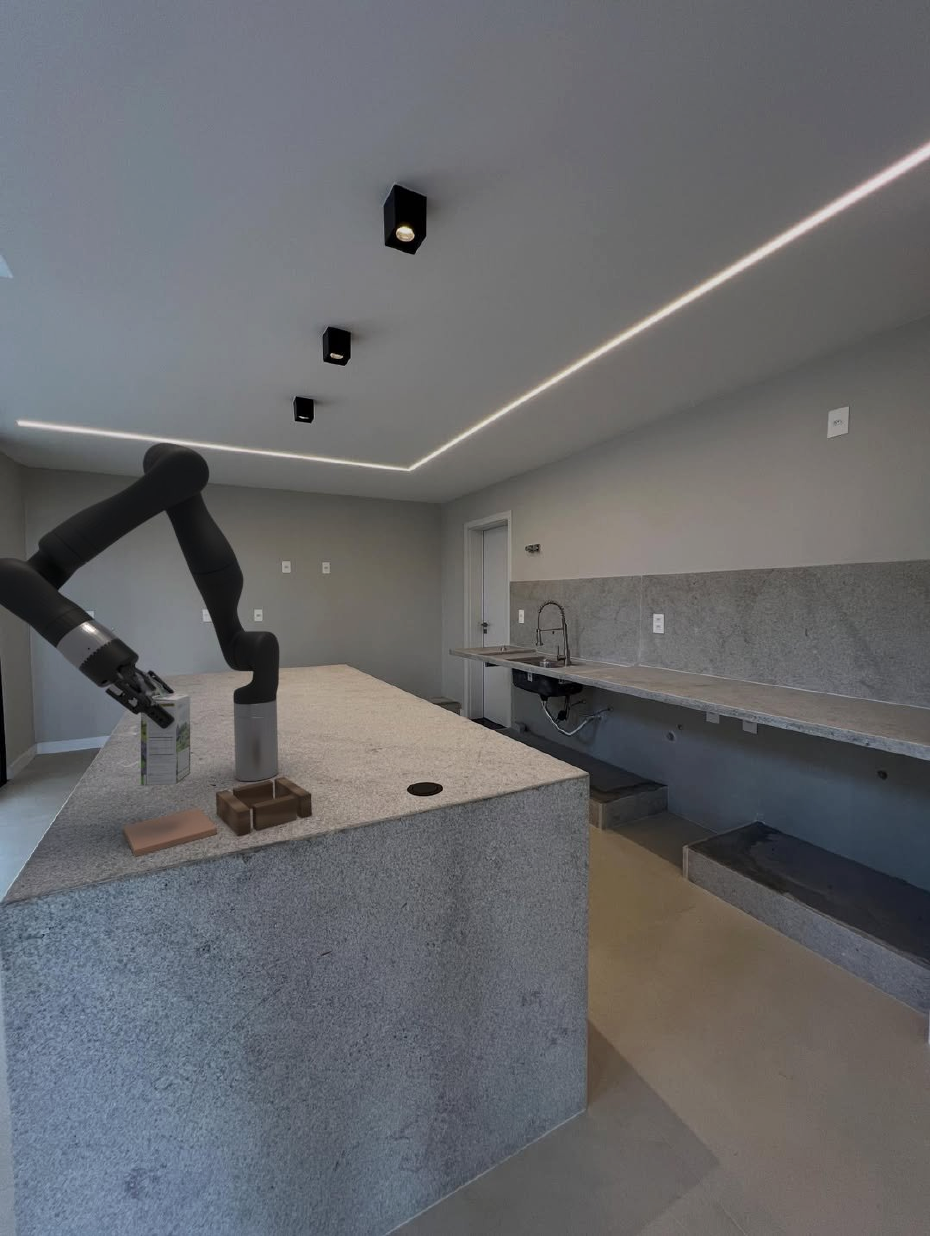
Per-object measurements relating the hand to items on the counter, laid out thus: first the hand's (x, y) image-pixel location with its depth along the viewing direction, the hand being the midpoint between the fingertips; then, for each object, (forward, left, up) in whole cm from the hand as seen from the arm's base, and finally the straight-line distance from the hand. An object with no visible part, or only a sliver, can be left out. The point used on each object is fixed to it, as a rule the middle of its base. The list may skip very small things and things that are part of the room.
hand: (176, 720), depth 89 cm
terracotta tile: (-1, -1, -19) cm, 19 cm away
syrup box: (-1, -2, -10) cm, 11 cm away
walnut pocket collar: (+2, +14, -19) cm, 24 cm away
